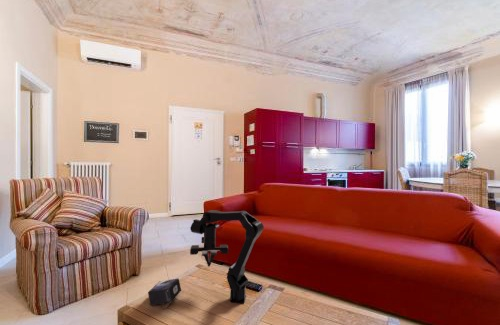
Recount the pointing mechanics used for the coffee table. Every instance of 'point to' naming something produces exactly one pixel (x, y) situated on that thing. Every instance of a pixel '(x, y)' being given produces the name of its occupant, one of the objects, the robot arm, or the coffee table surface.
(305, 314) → the coffee table surface
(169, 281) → the small box
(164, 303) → the stop rail
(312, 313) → the coffee table surface
